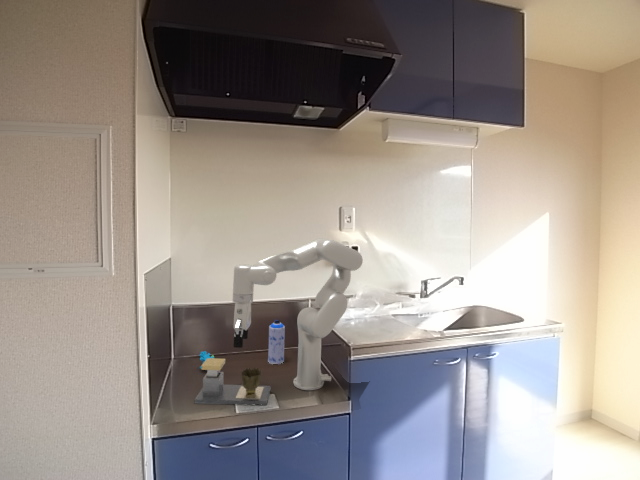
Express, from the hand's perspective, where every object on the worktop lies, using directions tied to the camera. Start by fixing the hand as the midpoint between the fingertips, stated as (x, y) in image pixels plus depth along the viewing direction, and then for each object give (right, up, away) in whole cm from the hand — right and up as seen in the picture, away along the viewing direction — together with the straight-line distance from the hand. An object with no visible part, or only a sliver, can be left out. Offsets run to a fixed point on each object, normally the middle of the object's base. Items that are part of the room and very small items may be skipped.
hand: (240, 342), depth 131 cm
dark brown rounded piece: (+3, -19, +2) cm, 20 cm away
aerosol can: (+9, -20, +35) cm, 41 cm away
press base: (-3, -21, +1) cm, 21 cm away
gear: (-20, -19, +25) cm, 38 cm away
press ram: (-11, -15, +1) cm, 19 cm away
